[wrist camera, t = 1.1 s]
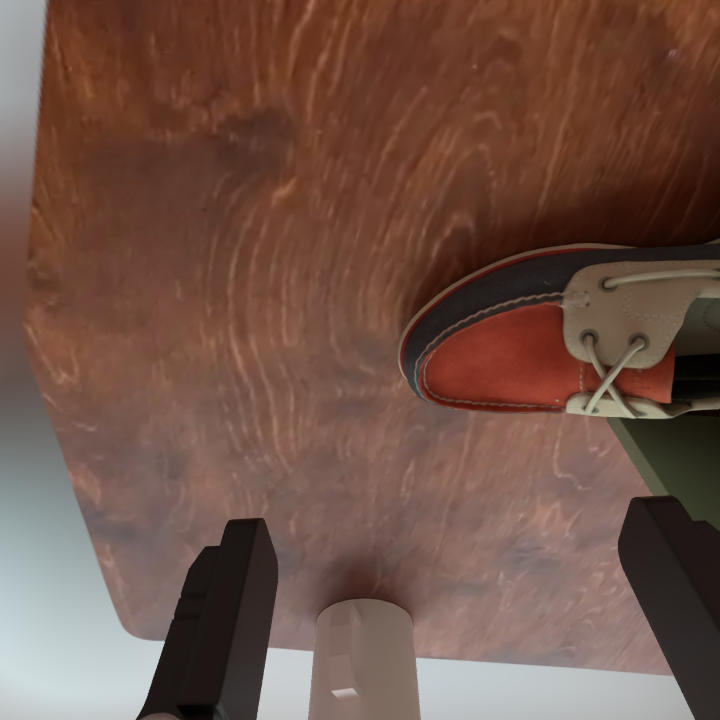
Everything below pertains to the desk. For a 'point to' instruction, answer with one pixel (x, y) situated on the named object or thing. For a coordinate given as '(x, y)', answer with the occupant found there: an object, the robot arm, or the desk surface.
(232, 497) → the desk surface
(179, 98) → the desk surface
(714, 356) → the boat shoe
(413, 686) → the mug
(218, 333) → the desk surface
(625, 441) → the tall tan-topped box
